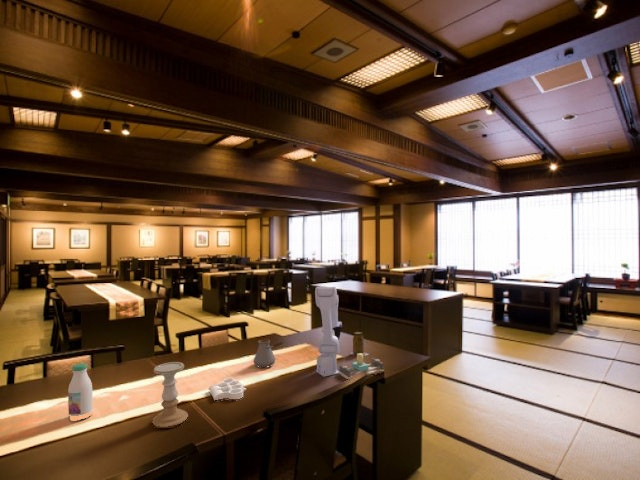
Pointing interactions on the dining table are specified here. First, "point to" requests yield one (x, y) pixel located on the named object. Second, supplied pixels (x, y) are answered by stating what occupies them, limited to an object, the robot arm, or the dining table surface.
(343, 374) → the rail bed
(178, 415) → the candle holder
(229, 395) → the white flat scalloped piece
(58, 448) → the dining table surface
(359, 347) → the condiment
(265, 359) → the coffee pot
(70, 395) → the milk bottle
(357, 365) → the carriage
